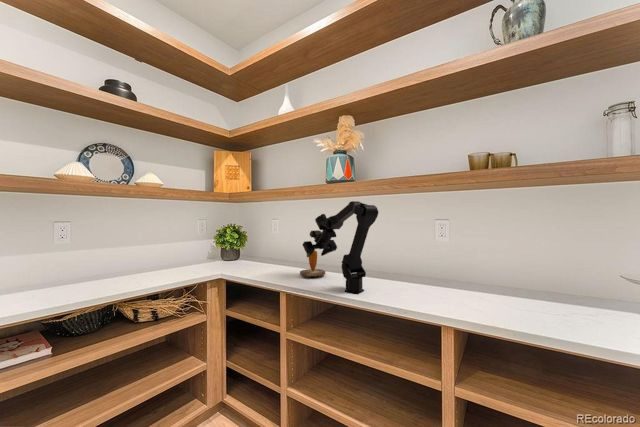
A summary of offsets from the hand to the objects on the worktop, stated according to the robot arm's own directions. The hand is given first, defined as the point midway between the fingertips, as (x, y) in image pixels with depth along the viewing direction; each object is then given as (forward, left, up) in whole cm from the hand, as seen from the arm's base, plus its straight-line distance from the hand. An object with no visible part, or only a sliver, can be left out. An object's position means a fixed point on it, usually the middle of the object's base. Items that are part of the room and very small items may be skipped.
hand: (314, 256), depth 145 cm
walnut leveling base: (+2, -1, -11) cm, 11 cm away
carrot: (+2, -1, -9) cm, 9 cm away
